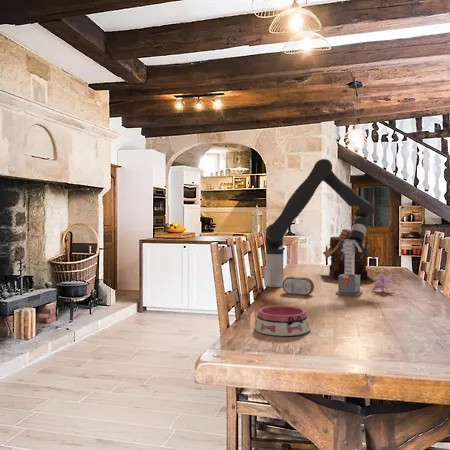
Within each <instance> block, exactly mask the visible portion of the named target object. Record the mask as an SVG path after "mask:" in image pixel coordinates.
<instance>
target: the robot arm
mask: <svg viewBox="0 0 450 450" xmlns="http://www.w3.org/2000/svg"><path fill="white" fill-rule="evenodd" d="M322 182H324V183H325V184H327V185H328V186H329V187H330V188H331V189H332V190H334V192H336V194H337V195H338V196H339V197H340V198H341V200H343V202H345V203H346V204H347V205H348V206H349V207H351V208H352V207H354V206H355V207H358V208H356V210H355V211H354V214H353V224H352V226H351V228H350V230H351V231H350V234H349V237H348V239H349V240H356V242H355V251H358V252H359V254H358V258H357V259H358V261H360V260H361V259H362V256H363V255H364V254H365V255H367V253H369V247H370V245H369V242H367V241H366V242H365V243H364V241H365V238H366V235H367V230H368V229H367V228H368V226H369V221H368V218H370V217H371V216H372V215H374V213H375V208H374V205H373V204H372V203H371V202H370V201H368V200H367V199H364V198H363V197H361V196H360V195H358V194H357V193H356V191H354V189H353V188H351V187H350V186H349V185H348V184H347V183H345V182H344V181H343V180H341V179H340V178H339V177H338V176H337V175H336V174H335V173H334V172H333V164H332V162H331V161H330V159H326V158H321V159H319V160H317V161H316V162H315V164H314V165H313V168H312V169H311V171H310V173H309V175H308V176H307V177H306V178H305V180H303V182H302V183H301V184H300V185H299V186H298V187H297V188H296V189H295V191H294V192H293V193H292V195H290V197H289V198H288V200H287V202H286V204H285V205H284V208H283V210H282V212H281V213H280V214H279V216H278V217H277V218H276V220H274V222H273V223H270V224H269V225H268V226H267V227H266V229H265V253H266V254H265V267H264V269H263V270H264V271H263V272H264V273H263V275H264V281H263V283H264V284H263V285H264V286H265V287H268V288H281V287H282V288H283V281H284V250H285V249H284V244H283V243H284V239H283V238H284V237H285V235H286V233H287V231H288V229H289V228H290V226H291V225H292V223H293V222H294V221H295V219H296V218H298V217H299V215H300V214H301V213H302V211H303V210H304V209H305V208H306V206H307V205H308V204H309V202H310V201H311V200H312V197H313V196H314V195H315V193H316V190H317V189H318V188H319V186H320V185H321V183H322ZM343 247H344V248H343ZM362 247H363V248H364V251H362V250H361V248H362ZM337 250H338V252H339V253H340V255H339V257H340V259H341V260H343V256H344V254H345V251H344V250H345V243H343V241H341V242H340V244H339V247H338V249H337ZM367 256H368V255H367Z"/></svg>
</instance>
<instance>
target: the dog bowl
mask: <svg viewBox="0 0 450 450" xmlns="http://www.w3.org/2000/svg"><path fill="white" fill-rule="evenodd" d="M253 330H254V331H255V332H256V333H258V334H260V335H263V336H267V337H276V338H296V337H297V338H298V337H302V336H306V335H309V333H310V332H311V328H310V324H309V321H308V315H307V312H306V310H305V309H304V308H301V307H297V306H290V305H270V306H269V305H268V306H264V307H261V308H260V309H258V312H257V316H256V321H255V325H254V327H253Z"/></svg>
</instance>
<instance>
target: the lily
mask: <svg viewBox="0 0 450 450" xmlns="http://www.w3.org/2000/svg"><path fill="white" fill-rule="evenodd" d="M392 276H393V274H390V275H388V276H385V274H383V273H382V272H381V273H380V274H379V276H378V279H377V281H374V282H372V283H371V284H372V285H374V286H373V287H372V289H371V292H375V290H378V289H380V290H381V291H382V292H384V291H385V289H386V291H387V294H390V292H389V291H388V288H387V287H386V286H387V285H389V284H392V283H394V281H393V280H392V279H391V278H392Z"/></svg>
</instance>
